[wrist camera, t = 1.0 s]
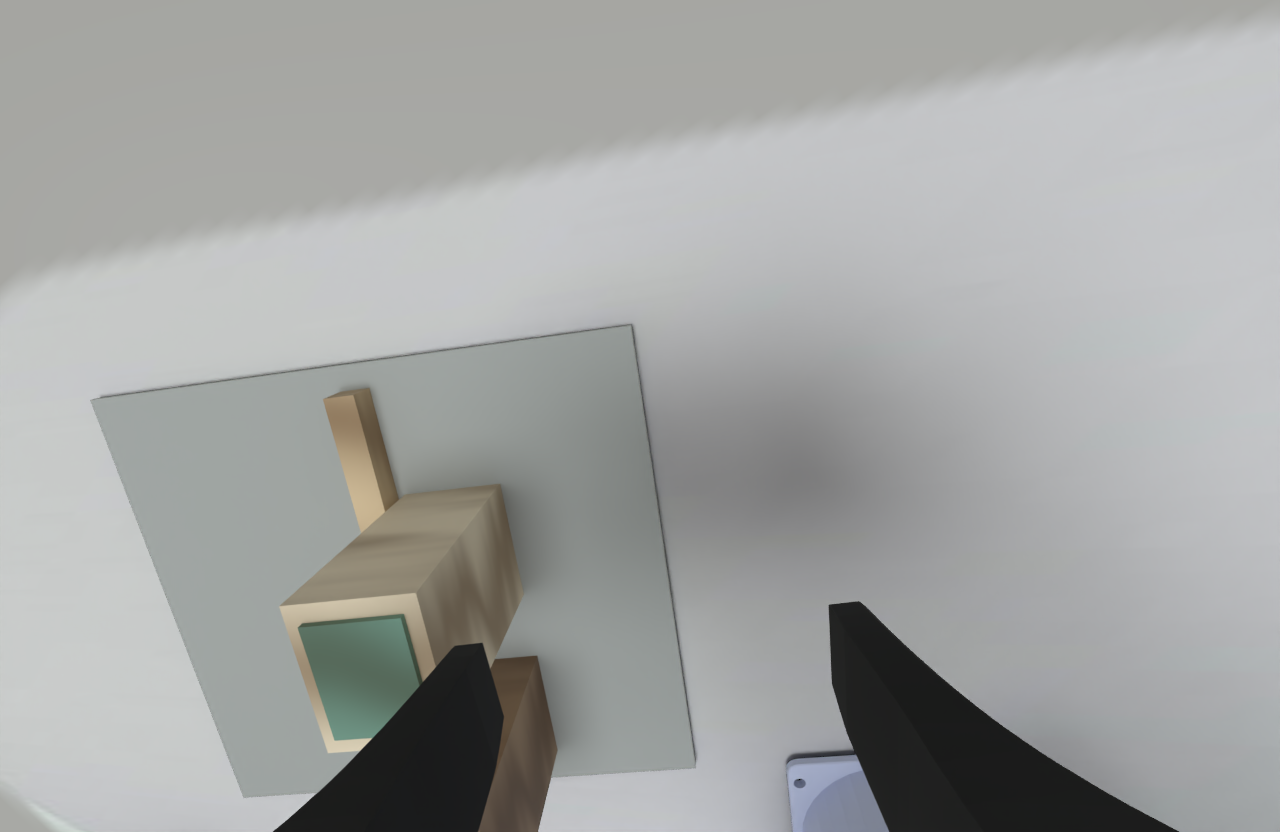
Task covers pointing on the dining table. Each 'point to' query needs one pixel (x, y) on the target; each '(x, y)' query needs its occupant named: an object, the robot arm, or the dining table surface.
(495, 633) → the beech block
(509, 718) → the walnut block
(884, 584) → the dining table surface
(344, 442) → the oak rail
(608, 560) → the grey mat
